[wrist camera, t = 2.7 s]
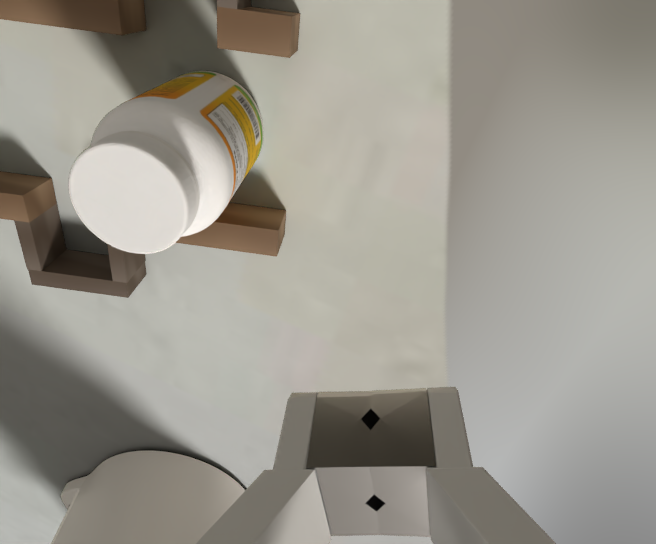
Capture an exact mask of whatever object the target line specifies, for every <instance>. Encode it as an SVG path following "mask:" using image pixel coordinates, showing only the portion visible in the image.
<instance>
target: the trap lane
mask: <svg viewBox="0 0 656 544" xmlns="http://www.w3.org/2000/svg"><path fill="white" fill-rule="evenodd" d="M0 19H4V20H12V21H19V22H26V23H34V24H41V25H49V26H56V27H64V28H71V29H79V30H86V31H94V32H101V33H109V34H116V35H125V34H130V33H135V32H140V31H145V30H146V21H145V8H144V0H0ZM299 23H300V13H294V12H286V11H279V10H271V9H264V8H256V7H251V0H217V48H221V49H228V50H236V51H243V52H251V53H258V54H266V55H273V56H281V57H288V58H290V57H291V56H292V55H293V54H294V53H295V52H296V51H298V37H299ZM0 218H1V219H8V220H14V221H15V225H16V229H17V232H18V236H19V240H20V244H21V247H22V251H23V255H24V259H25V263H26V266H27V269H28V271H29V274H30V278H31V282H32V284H33V285H41V286H48V287H55V288H62V289H70V290H77V291H84V292H91V293H99V294H106V295H113V296H120V297H127V298H128V297H129V296H130V295H131V293H132V292H133V291H134V290H135V288H136V287H137V286H138V284H139V283H140V282H141V281H142V279H143V278H144V277H145V275H146V267H145V261H146V260H145V254H138V253H130V252H126V251H123V250H120V249H117V248H115V247H113V246H111V245H109V244H107V247H108V253H109V255H102V254H95V253H88V252H80V251H73V250H66V245H65V240H64V235H63V231H62V226H61V221H60V216H59V211H58V207H57V202H56V197H55V192H54V187H53V182H52V178H46V177H38V176H31V175H24V174H16V173H9V172H2V171H0ZM285 220H286V210H280V209H273V208H266V207H258V206H251V205H244V204H236V203H228V205H227V207H226V208H225V209H224V211H223V212H222V213H221V215H220V216H219V217H218V218H217V219H216V220H215V221H214V222H213V223H212V224H211V225H210V226H208V227H207V228H205V229H204V230H202V231H200V232H198V233H195V234H192V235H188V236H184V237H180V238H179V240H178V241H176V243H183V244H190V245H198V246H205V247H212V248H219V249H227V250H234V251H241V252H249V253H256V254H263V255H270V256H277V255H278V252H279V249H280V246H281V243H282V240H283V237H284V234H285Z"/></svg>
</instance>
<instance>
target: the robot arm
mask: <svg viewBox="0 0 656 544" xmlns="http://www.w3.org/2000/svg"><path fill="white" fill-rule="evenodd" d="M61 499H62V501H63V503H64V505H65V506H66V508H67V509H68V511H67V513H66V515H65V517H64V519H63V521H62V523H61V525H60V527H59V529H58V531H57V533H56V535H55V537H54V539H53V541H52V543H51V544H329V543H330V541H331V540H332V539H331V536H353V535H394V536H422V537H431V541H432V542H433V544H556V543H555V542H554V541H553V540H552V539H551V538H550V537H549V536H548V535H547V534H546V533H545V531H544V530H543V529H541V527H540V526H539V525H538V524H537V523H536V522H535V521H534V520H533V519H532V518H531V517H530V516H529V515H528V514H527V513H526V512H525V511H524V510H523V509H522V508H521V507H520V506H519V505H518V504H517V502H516V501H515V500H514V499H513V498H512V497H511V496H510V495H509V494H508V493H507V492H506V491H505V490H504V489H503V488H502V487H501V486H500V485H499V484H498V483H497V482H496V481H495V480H494V479H493V477H491V475H489V473H488V472H487V471H486V470H485V469H484V468H483V467H473V464H472V459H471V454H470V449H469V443H468V439H467V433H466V429H465V423H464V418H463V413H462V409H461V404H460V398H459V393H458V390H457V389H456V387H439V388H427V390H426V388H417V389H396V390H375V391H348V392H310V393H292V394H291V395H290V397H289V399H288V402H287V407H286V411H285V416H284V420H283V425H282V430H281V434H280V439H279V444H278V448H277V453H276V457H275V462H274V467H273V470H264V471H263V472H262V473H261V474H260V475H259V477H258V478H257V479H256V480H255V481H254V482H253V483H252V484H251V485H250V486H249V487H248V488H247V489H246V490H244V488H243V487H242V486H241V485H240V484H239V483H238V482H236V481H235V480H234V479H233V478H231V477H230V476H229V475H227V474H226V473H224V472H223V471H221V470H219V469H217V468H215V467H214V466H212V465H209V464H207V463H205V462H202V461H200V460H197V459H194V458H191V457H188V456H184V455H180V454H176V453H170V452H163V451H133V452H127V453H122V454H119V455H116V456H113V457H111V458H109V459H107V460H105V461H104V462H102V463H101V464H100V465H98V467H97V468H96V469H95V470H94V471H93V472H92V473H91V474H89V475H88V476H85V477H82V478H78V479H75V480H72V481H70V482H68V483H67V484H66V485H65V487H64V489H63V492H62V494H61Z"/></svg>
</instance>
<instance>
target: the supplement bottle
mask: <svg viewBox="0 0 656 544" xmlns="http://www.w3.org/2000/svg"><path fill="white" fill-rule="evenodd" d="M263 136H264V131H263V122H262V118H261V114H260V112H259V109H258V107H257V105H256V103H255V102H254V100H253V98H252V97H251V95H250V94H249V93H248V92H247V91H246V90H245V89H244V88H243V87H242V86H241V85H240V84H239V83H237V82H236V81H234V80H233V79H231V78H229V77H227V76H225V75H222V74H220V73H216V72H211V71H194V72H189V73H186V74H183V75H181V76H178V77H176V78H174V79H172V80H170V81H168V82H166V83H164V84H162V85H160V86H158V87H156V88H154V89H152V90H149V91H147V92H145V93H143V94H141V95H139V96H137V97H135V98H132V99H130V100H128V101H126V102H124V103H122V104H121V105H119V106H117V107H116V108H114V109H113V110H112V111H110V112H109V113H108V114H107V115H105V117H104V118H103V119H102V120H101V121H100V123H99V124H98V126H97V128H96V130H95V132H94V134H93V137H92V141H91V145H90V147H88V148H87V149H85V150H84V151H83V152H82V153H81V154H80V155H79V156H78V157H77V159H76V160H75V161H74V163H73V165H72V168H71V170H70V175H69V182H68V187H69V194H70V199H71V201H72V204H73V207H74V209H75V211H76V213H77V215H78V216H79V218H80V219H81V221H82V222H83V223H84V224H85V226H86V227H87V228H88V229H89V230H90V231H91V232H92V233H93V234H95V235H96V236H97V237H98V238H99V239H101V240H102V241H104V242H105V243H107V244H109V245H111V246H113V247H115V248H117V249H120V250H123V251H126V252H130V253H138V254H149V253H155V252H159V251H162V250H165V249H167V248H169V247H170V246H172V245H173V244H174V243H175V242H176V241H178V240H179V238H180V237H184V236H188V235H192V234H195V233H198V232H200V231H202V230H204V229H205V228H207V227H208V226H210V225H211V224H212V223H213V222H214V221H215V220H216V219H217V218H218V217H219V216H220V215H221V213H222V212H223V211H224V209H225V208H226V207H227V205H228V203H229V202H230V200H231V198H232V197H233V195H234V194H235V192H236V190H237V189H238V187H239V186H240V184H241V183H242V181H243V180H244V178H245V177H246V175H247V174H248V172H249V171H250V169H251V167H252V166H253V164H254V163H255V161H256V159H257V158H258V156H259V154H260V151H261V148H262V144H263Z"/></svg>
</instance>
